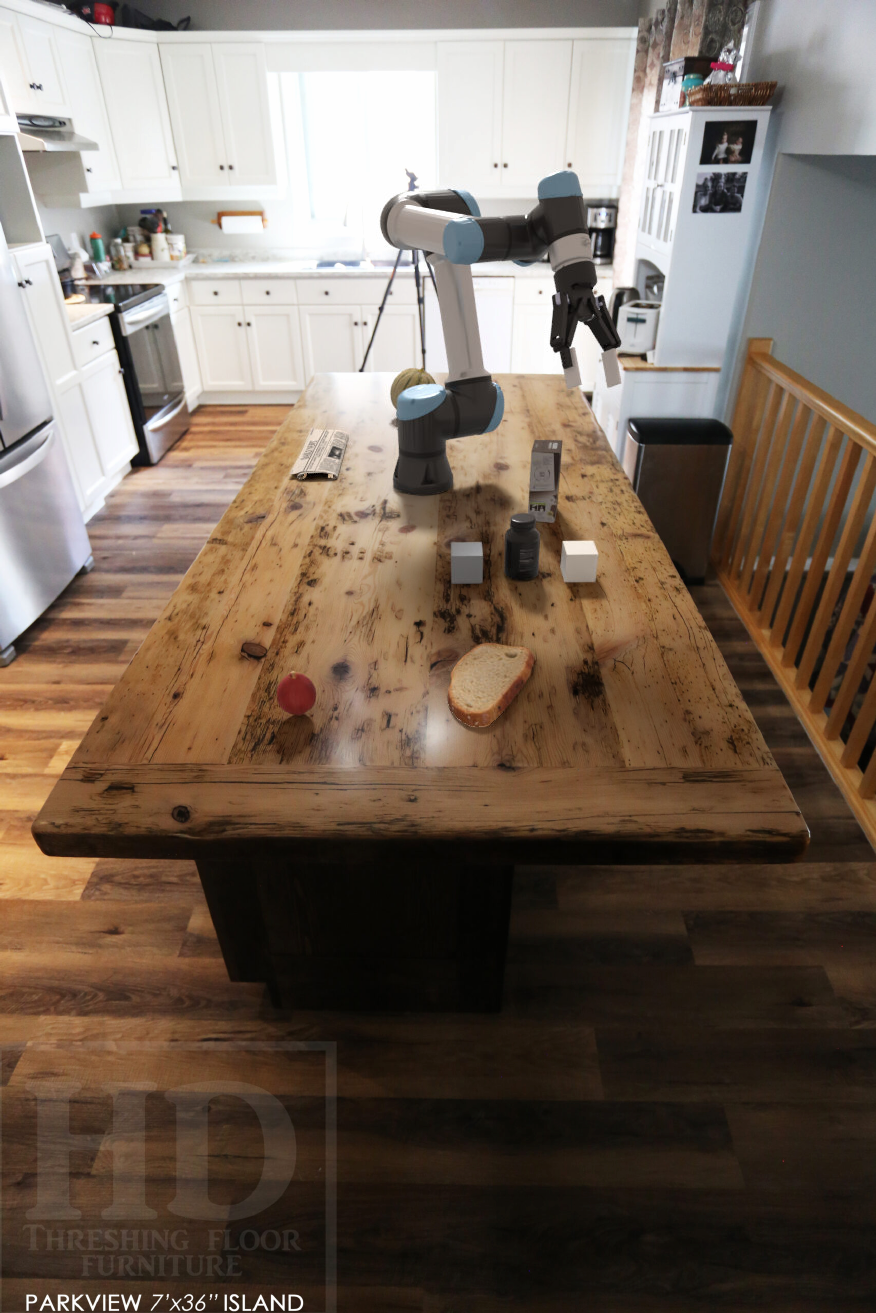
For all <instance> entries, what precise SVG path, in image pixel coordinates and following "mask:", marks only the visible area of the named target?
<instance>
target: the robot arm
mask: <svg viewBox="0 0 876 1313" xmlns="http://www.w3.org/2000/svg"><path fill="white" fill-rule="evenodd" d="M583 197H584V194H583V193H582V189H581V184H580V180H579V177H578V175H577V173H575V172H574V171H572V170H560V171H556V172H553V173H550V174H548V175H547V176H545V177H543V178H542V179H541V180H540V181H539V183H538V185H537V200H538V204H537V205H536V206H535V207H534V208H533V209H532V210H531V211H530V212H529V213H527V214H514V215H511V214H510V215H498V216H482V212H481V210H480V206H479V203H478V202H477V200H476V199H475V197H474V195H472V194H471V192H469V191H468V190H465V189H464V190H463V189H453V188H448V189H436V190H416V191H414V190H410V191H409V190H408V191H404V192H401V193H399V194H396V195H395V196H393V197H391V198H390V199H389V200H388V201H387V202H386V204H384V206H383V208H382V211H381V214H380V220H379V228H380V231H381V234H382V236H383V238H384V240H385V241H386V242H387V243H388V244H389V245H390V246H391V247H393V248H395V249H398V250H403V251H422V250H423V251H424V254H425V255H424V256H425V260H426V262H427V263H428V264H429V265H431V266H432V267H433V271H434V278H435V286H436V291H437V293H436V294H437V298H438V305H439V306H438V308H439V311H440V312H439V313H440V320H441V326H442V327H441V328H442V333H443V339H444V340H443V341H444V347H445V348H444V349H445V355H446V362H447V369H448V376H447V378H446V379H445V380H444V381H443V384H444V385H442V384H438V383H436V384H428V385H426V384H422V385H417V386H413V387H410V388H408V389H406V390H404V391H403V392H402V393H401V394H400V395H399V396H398V399H397V410H395V415H396V424H397V426H396V427H397V441H398V442H397V444H398V457H397V461H396V464H395V467H394V472H393V475H392V483H393V484H392V485H393V486H392V487H394V489H396V490H397V491H398V492H400V493H403V494H407V495H413V496H414V495H415V496H429V495H431V496H432V495H436V494H441V493H444V492H446V491H448V490H450V489H451V488H453V485H454V474H453V472H452V471H453V470H452V468H451V465H450V461H449V458H448V456H447V447H446V446H447V441H448V440H450V441H451V440H455V439H461V438H467V437H473V436H482V435H484V434H488V433H492V432H494V431H495V430H496V429H497V428H498V427H499V426H500V424H501V422H502V420H503V419H504V418H503V417H504V413H505V396H504V392H503V390H502V387H501V385H499V384H498V383H497V382H494V381H493V379H492V374H491V372H489V371H487V370H486V368H485V366H484V357H483V351H482V344H481V342H482V341H481V336H480V334H481V333H480V329H479V318H478V312H477V304H476V297H475V289H474V281H473V275H472V274H473V273H472V267H471V265H473V264H485V263H492V262H509V261H511V262H512V263H513V264H515V265H517V266H520V267H522V268H523V267H524V268H525V267H531V266H532V265H534V264H536V263H538V262H539V261H541V260H542V259H543V258H544V257H545V256H546V255H547V254H548V256H549V262H550V268H551V272H553V273H554V274H553V282H554V287H555V293H554V294H552V295H551V301H552V302H551V303H552V314H551V315H552V316H551V327H550V337H549V345H550V347H551V348H552V351H553V352H554V354H556V353H559V355H560V360H561V366H562V370H563V374H564V379H565V384H566V390H571V389H574V388H576V387H579V386H582V385H583V384H582V379H581V373H580V368H579V362H578V357H577V353H576V347H573V346H572V344H573V341H574V337H575V334H576V331H577V327H578V324H579V323H583V325H584V326H587V328H589V330H590V331H591V333H592V335H593V336H594V338H595V340H596V341H597V343H598V344H599V347H600V348H601V349H602V351H603V352H601V353H600V355H601V360H602V364H603V372H604V377H605V382H606V388H609V389H610V388H613V387H616V386H618V385H621V384H622V378H621V373H620V367H619V362H618V356H617V352H616V349H618V348H620V347H621V345H622V340H621V338H620V335H619V332H618V330H617V328H616V326H615V324H614V320H613V318H612V316H611V314H610V311H609V309H608V307H607V302H606V300H605V295H604V294H599V295H597V296H595V294H594V291H593V290H594V287H595V286H596V285H597V284H598V276H597V271H596V266H595V263H594V262H593V259H594V256H593V255H594V254H593V250H592V244H591V243H592V239H591V238H590V234H589V228H588V221H587V216H586V209H585V203H584V202H585V201H584V198H583Z"/></svg>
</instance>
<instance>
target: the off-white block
mask: <svg viewBox="0 0 876 1313" xmlns="http://www.w3.org/2000/svg"><path fill="white" fill-rule="evenodd" d="M561 545H562V546H561V547H562V548H561V554H560V555H561V558H560V568H559V569H560V572H561V575H562V578H563V583H596V579H597V573H598V572H597V571H598V561H599V552H598V550H597V547H596V543H595V541H594V540H563V541H562V544H561Z"/></svg>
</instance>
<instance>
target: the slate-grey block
mask: <svg viewBox="0 0 876 1313" xmlns="http://www.w3.org/2000/svg"><path fill="white" fill-rule="evenodd" d="M483 554H484V551H483V544H482V541H475V542H474V541H472V542H469V541H468V542H464V541H463V542H460V541H459V542H454V541H453V542H450V565H451V566H450V568H451V569H450V572H451V574H450V576H451V578H450V580H451V585H452V584H456V585H457V584H459V585H461V584H483V576H484V575H483V573H484V572H483V570H484V555H483Z"/></svg>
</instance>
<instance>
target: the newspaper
mask: <svg viewBox="0 0 876 1313" xmlns="http://www.w3.org/2000/svg"><path fill="white" fill-rule="evenodd" d="M349 437H350V435H349V434H348V433H347V432H346V431H344V430H342V429H334V428H333V429H320V428H315V427H313V426H311V427H310V429H309V432H308V436H307V438H306V440H305V443H304V445H303V447H302V450H301V452H300V454H299V456H298V457H297V459H296V461H295V463H294V465H293V466H292V468H291V470H290V471H289V475H295V474H297V480H299V478H300V479H301V480H302V479H303V476H304V474H305V473H308V474H314V473H315V474H316V473H317V474H318V473H323V474H333V478H332V480H336V479H338V478H339V475H340V472H341V466H342V463H343V460H344V456H345V453H346V448H347V445H348V442H349Z"/></svg>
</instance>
